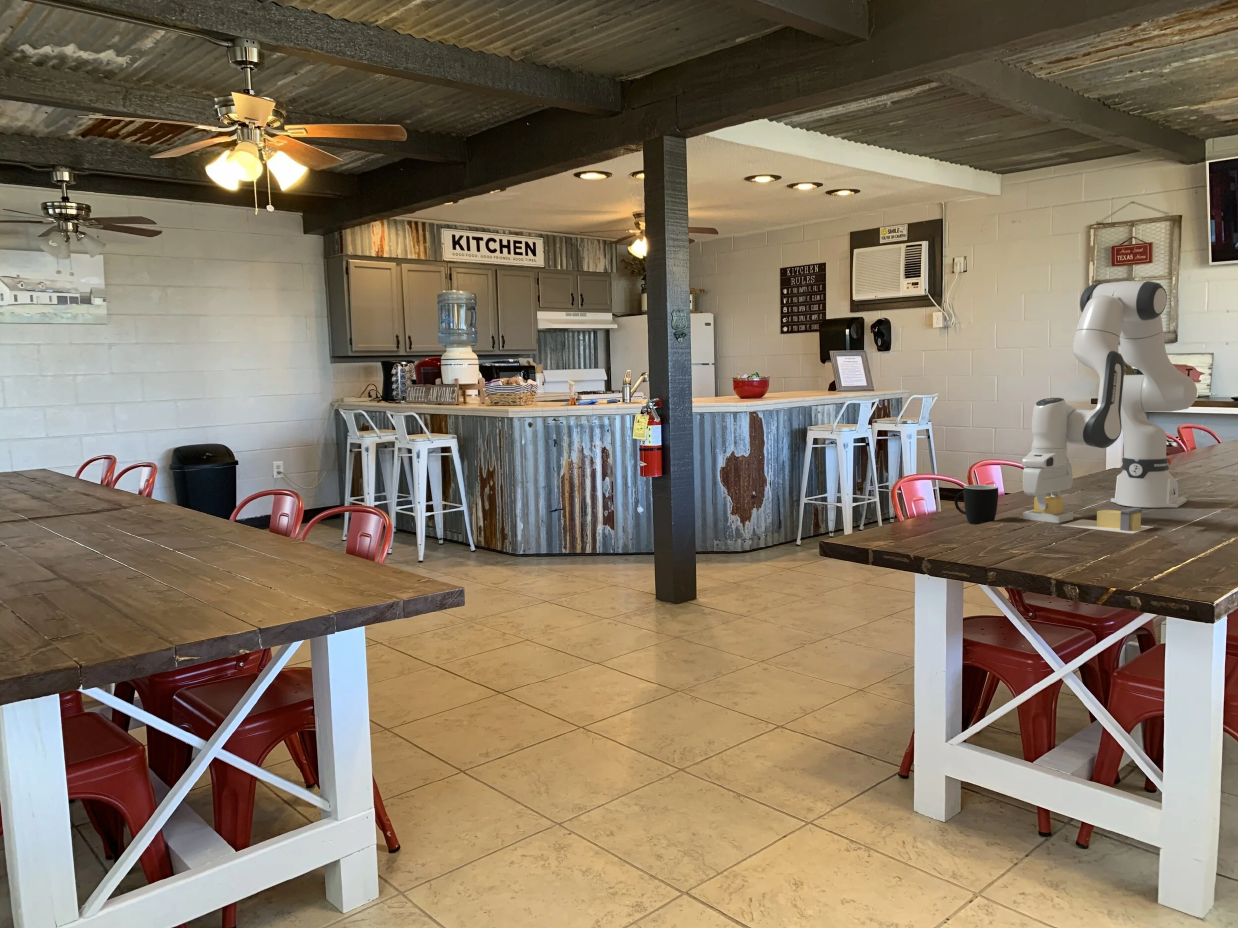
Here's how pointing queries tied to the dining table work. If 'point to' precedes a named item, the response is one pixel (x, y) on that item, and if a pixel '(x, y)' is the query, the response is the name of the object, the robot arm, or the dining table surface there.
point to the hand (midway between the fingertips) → (1048, 508)
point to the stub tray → (1048, 516)
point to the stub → (1050, 505)
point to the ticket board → (1094, 526)
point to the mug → (979, 503)
